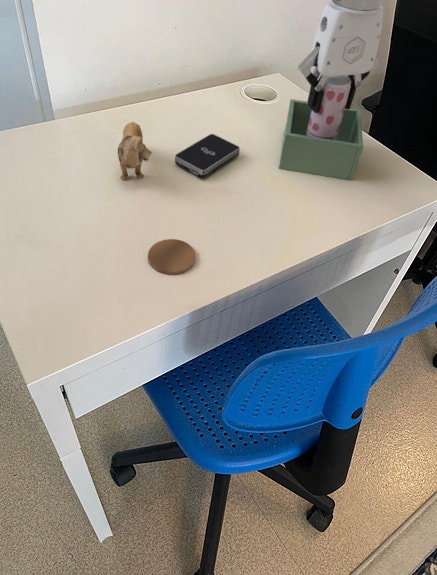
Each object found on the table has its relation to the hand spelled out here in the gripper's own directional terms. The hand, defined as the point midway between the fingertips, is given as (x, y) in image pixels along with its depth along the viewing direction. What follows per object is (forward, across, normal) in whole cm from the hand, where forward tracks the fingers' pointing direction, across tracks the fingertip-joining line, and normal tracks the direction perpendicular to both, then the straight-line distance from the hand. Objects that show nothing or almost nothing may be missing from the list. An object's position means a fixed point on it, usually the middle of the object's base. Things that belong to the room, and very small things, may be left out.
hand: (328, 106), depth 88 cm
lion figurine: (+10, -35, +4) cm, 36 cm away
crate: (+10, 0, 0) cm, 10 cm away
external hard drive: (+10, -21, +3) cm, 24 cm away
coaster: (+10, -35, -20) cm, 41 cm away
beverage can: (+10, 0, 0) cm, 10 cm away
